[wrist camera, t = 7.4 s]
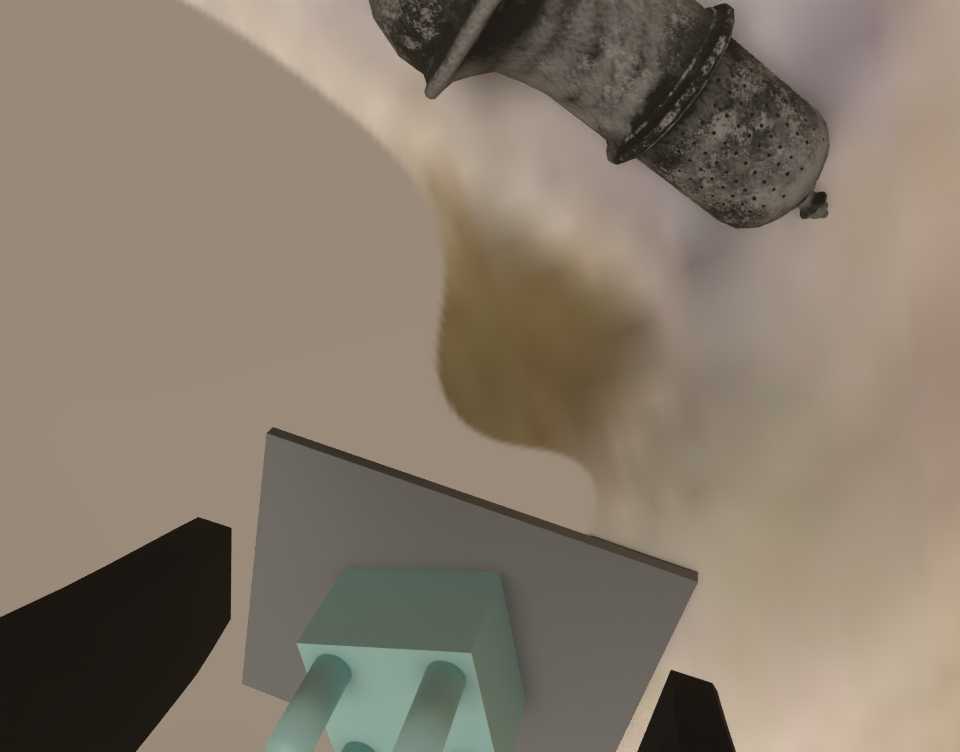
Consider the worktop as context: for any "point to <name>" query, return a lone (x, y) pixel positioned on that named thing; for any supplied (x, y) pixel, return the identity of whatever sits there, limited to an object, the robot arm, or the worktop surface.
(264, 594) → the mat
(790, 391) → the worktop surface
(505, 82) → the worktop surface
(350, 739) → the stool
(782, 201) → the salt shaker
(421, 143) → the worktop surface
